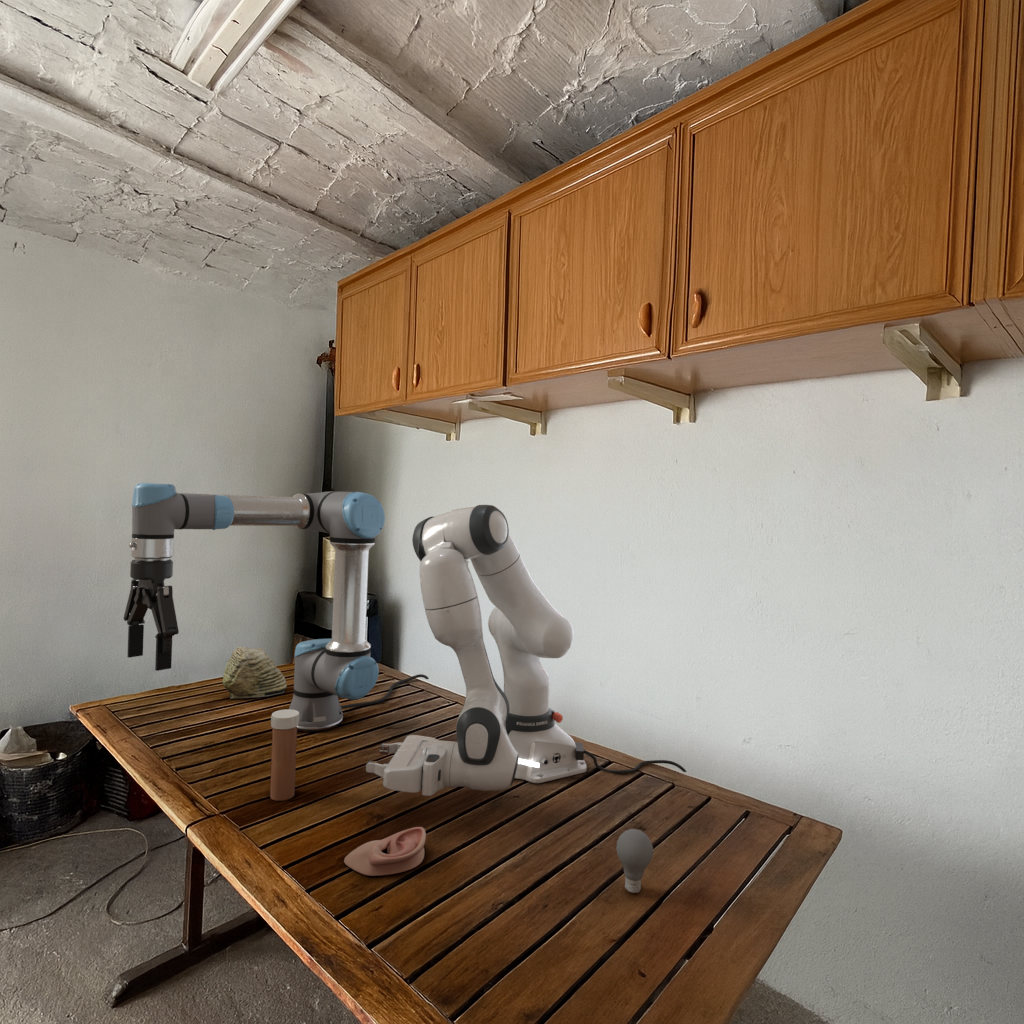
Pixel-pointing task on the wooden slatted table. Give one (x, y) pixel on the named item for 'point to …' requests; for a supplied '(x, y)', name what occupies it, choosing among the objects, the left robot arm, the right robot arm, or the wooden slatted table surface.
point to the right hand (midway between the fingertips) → (373, 757)
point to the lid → (285, 719)
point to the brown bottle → (283, 763)
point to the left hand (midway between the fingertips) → (148, 662)
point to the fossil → (252, 674)
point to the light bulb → (634, 857)
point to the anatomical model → (389, 853)
